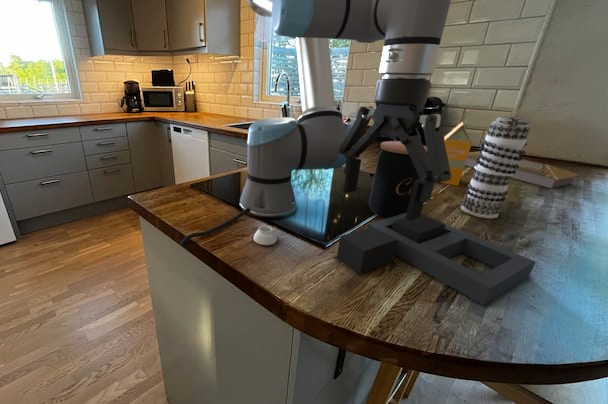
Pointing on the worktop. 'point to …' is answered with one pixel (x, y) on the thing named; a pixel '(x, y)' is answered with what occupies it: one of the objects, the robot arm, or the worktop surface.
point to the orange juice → (457, 152)
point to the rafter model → (534, 172)
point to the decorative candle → (496, 166)
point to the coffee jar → (392, 180)
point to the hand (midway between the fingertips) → (377, 203)
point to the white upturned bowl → (265, 236)
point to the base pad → (464, 280)
